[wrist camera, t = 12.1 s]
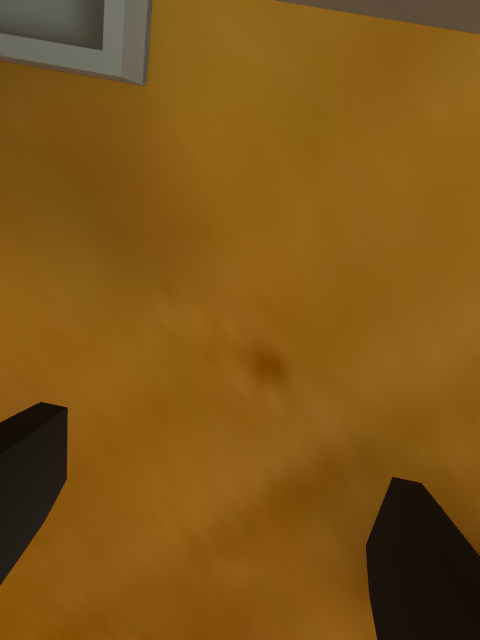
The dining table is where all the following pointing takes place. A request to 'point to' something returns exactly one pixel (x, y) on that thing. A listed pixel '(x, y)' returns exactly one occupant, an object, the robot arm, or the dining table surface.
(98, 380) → the dining table surface
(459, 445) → the dining table surface
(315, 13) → the dining table surface
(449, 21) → the pale grey flat box
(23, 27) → the tray
